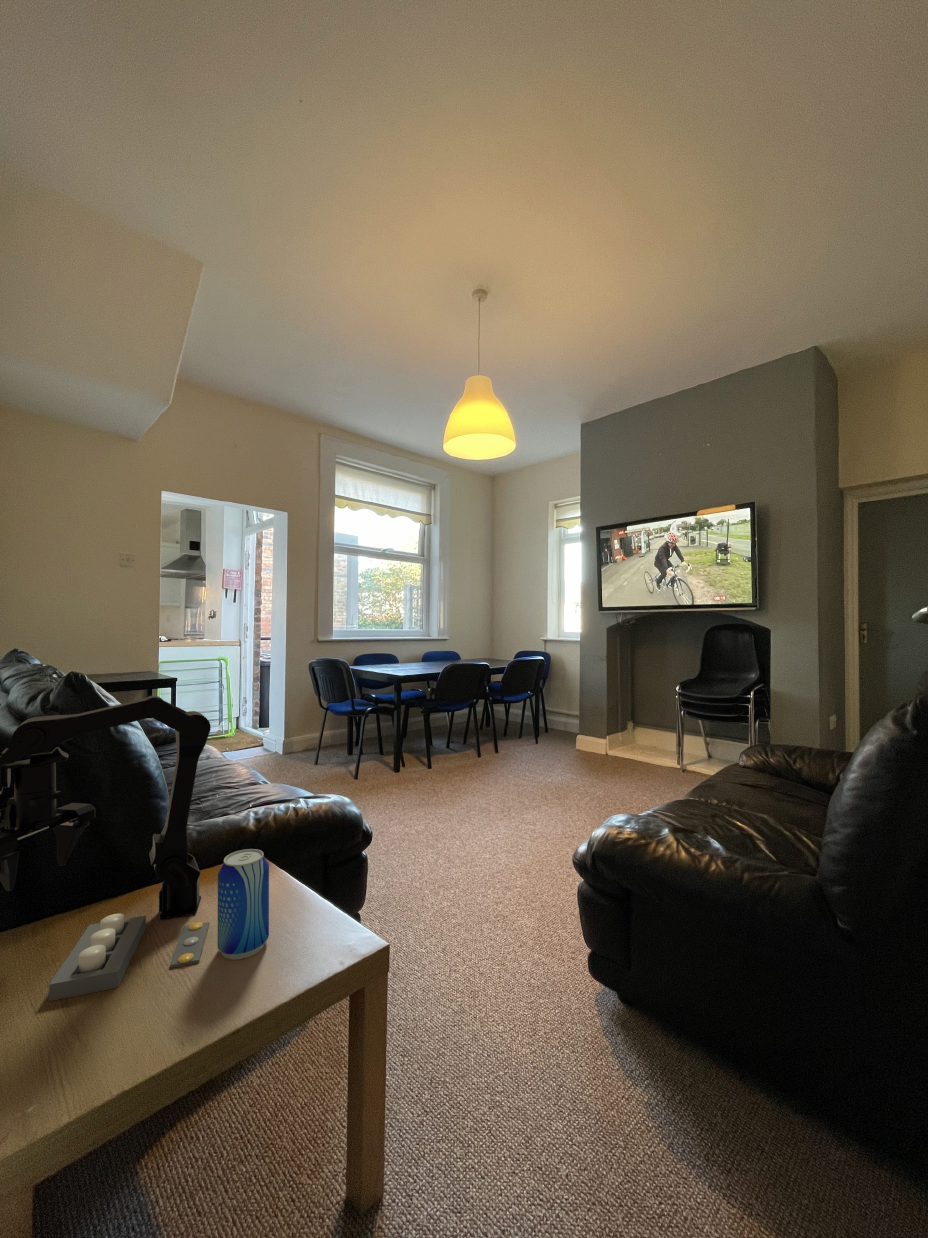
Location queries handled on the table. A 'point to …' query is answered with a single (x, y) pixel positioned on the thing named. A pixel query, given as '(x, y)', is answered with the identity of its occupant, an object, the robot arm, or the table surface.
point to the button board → (107, 977)
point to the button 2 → (113, 923)
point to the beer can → (243, 904)
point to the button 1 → (92, 959)
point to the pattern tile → (190, 944)
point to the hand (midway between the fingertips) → (36, 877)
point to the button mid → (104, 939)
